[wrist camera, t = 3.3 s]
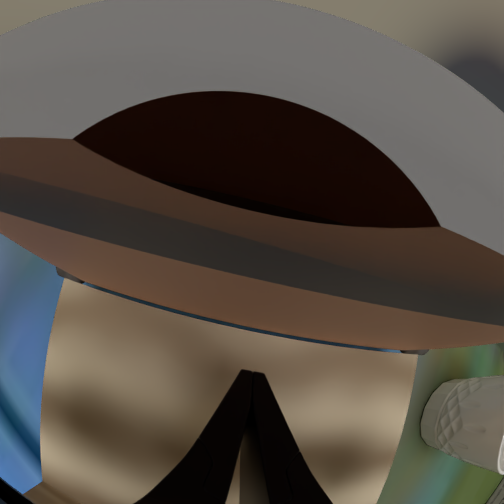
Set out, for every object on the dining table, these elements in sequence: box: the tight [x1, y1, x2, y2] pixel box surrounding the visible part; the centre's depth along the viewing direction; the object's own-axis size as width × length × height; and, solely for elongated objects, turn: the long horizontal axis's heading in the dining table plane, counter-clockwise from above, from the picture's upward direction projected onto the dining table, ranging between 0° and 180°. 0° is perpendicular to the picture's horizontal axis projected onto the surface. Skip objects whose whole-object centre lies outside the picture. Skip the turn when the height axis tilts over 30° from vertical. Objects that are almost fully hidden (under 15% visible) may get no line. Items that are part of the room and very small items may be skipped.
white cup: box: [420, 375, 504, 475], centre depth 12 cm, size 8×8×10 cm
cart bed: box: [23, 267, 429, 504], centre depth 12 cm, size 18×23×8 cm
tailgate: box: [0, 0, 504, 350], centre depth 8 cm, size 3×19×13 cm, turn 78°
